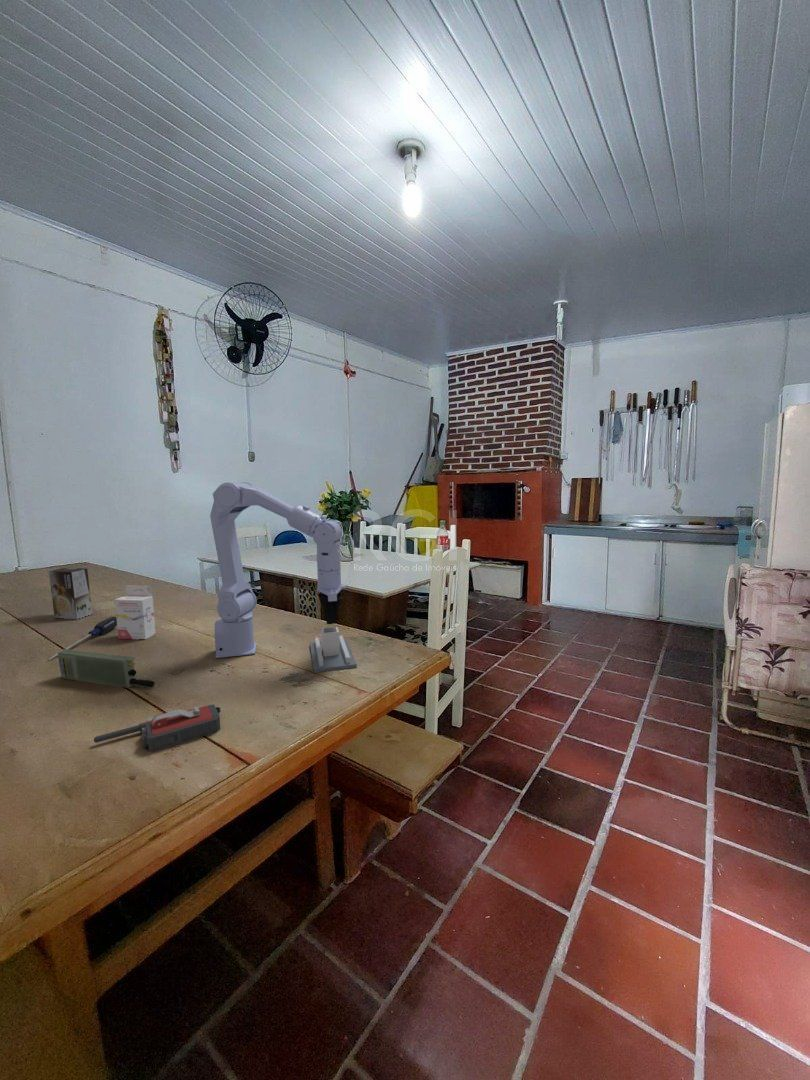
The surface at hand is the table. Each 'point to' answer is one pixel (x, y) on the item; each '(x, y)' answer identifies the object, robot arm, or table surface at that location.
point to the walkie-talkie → (173, 727)
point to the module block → (330, 641)
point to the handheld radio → (99, 668)
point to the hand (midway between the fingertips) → (330, 621)
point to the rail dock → (332, 657)
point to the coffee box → (70, 593)
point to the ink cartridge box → (135, 613)
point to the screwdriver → (96, 631)
